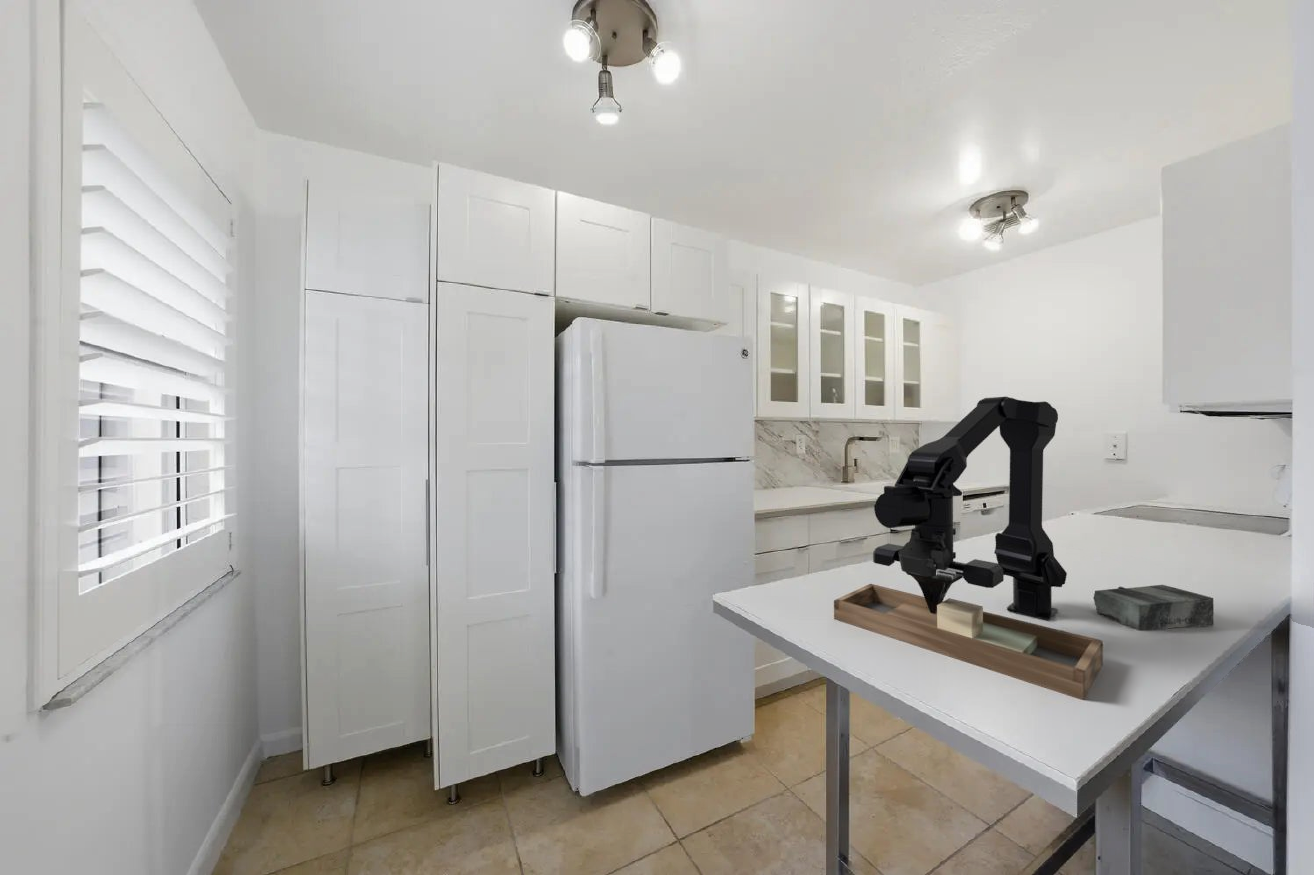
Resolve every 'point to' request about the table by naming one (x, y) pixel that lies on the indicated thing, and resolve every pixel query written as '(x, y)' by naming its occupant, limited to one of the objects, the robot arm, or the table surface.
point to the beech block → (960, 617)
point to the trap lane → (980, 640)
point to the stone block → (1155, 607)
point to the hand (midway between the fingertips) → (933, 613)
